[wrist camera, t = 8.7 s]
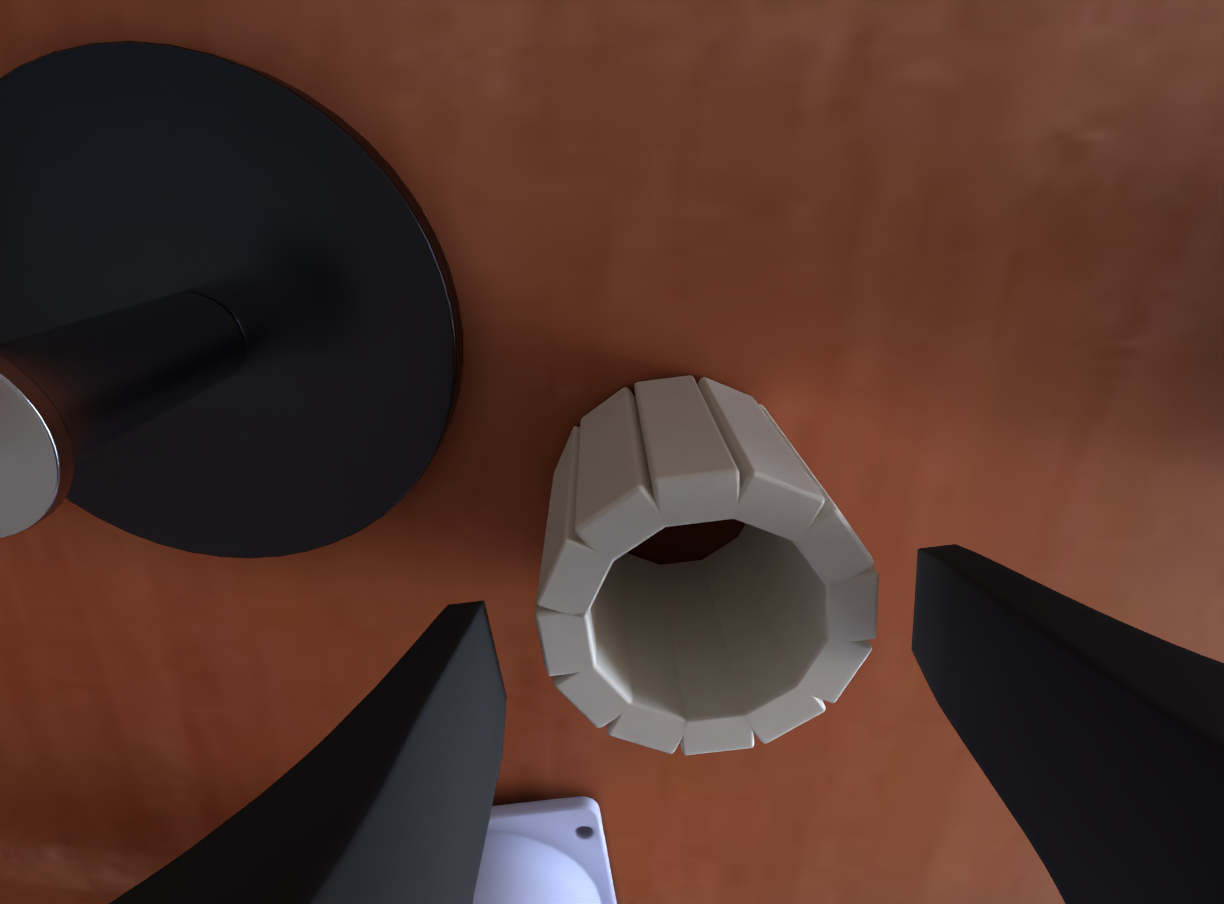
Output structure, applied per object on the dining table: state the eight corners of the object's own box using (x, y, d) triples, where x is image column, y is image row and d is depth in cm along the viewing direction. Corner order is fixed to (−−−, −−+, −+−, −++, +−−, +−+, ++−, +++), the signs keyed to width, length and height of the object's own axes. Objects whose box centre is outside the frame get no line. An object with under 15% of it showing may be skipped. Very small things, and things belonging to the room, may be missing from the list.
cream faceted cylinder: (795, 577, 16) (873, 736, 12) (573, 603, 16) (565, 770, 12) (791, 360, 14) (884, 451, 10) (537, 393, 14) (509, 497, 10)
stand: (503, 514, 15) (449, 718, 10) (86, 564, 16) (-211, 793, 10) (398, 12, 12) (201, -151, 6) (-153, 89, 12) (-872, 8, 6)
